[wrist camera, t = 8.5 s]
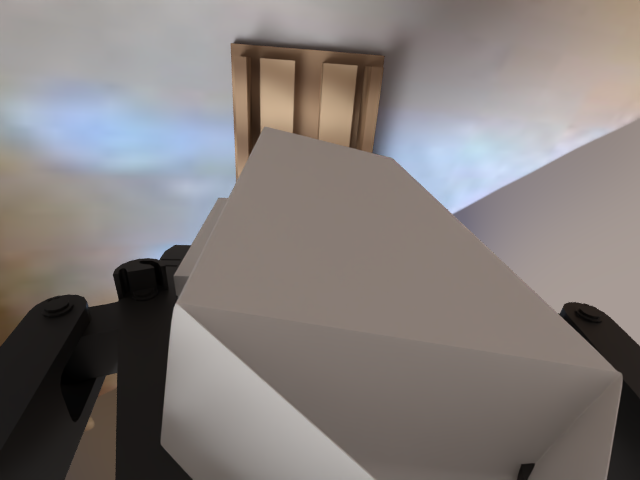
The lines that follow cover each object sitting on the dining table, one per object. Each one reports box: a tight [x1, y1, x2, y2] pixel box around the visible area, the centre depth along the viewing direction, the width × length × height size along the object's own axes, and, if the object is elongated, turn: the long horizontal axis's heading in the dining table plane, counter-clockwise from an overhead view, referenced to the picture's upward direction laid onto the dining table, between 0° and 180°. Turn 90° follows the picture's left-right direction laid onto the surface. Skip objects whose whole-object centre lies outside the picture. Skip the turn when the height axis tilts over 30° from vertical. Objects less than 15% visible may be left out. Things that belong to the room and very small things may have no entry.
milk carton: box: [161, 127, 623, 480], centre depth 11 cm, size 7×7×19 cm
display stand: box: [231, 43, 385, 182], centre depth 34 cm, size 16×14×4 cm
